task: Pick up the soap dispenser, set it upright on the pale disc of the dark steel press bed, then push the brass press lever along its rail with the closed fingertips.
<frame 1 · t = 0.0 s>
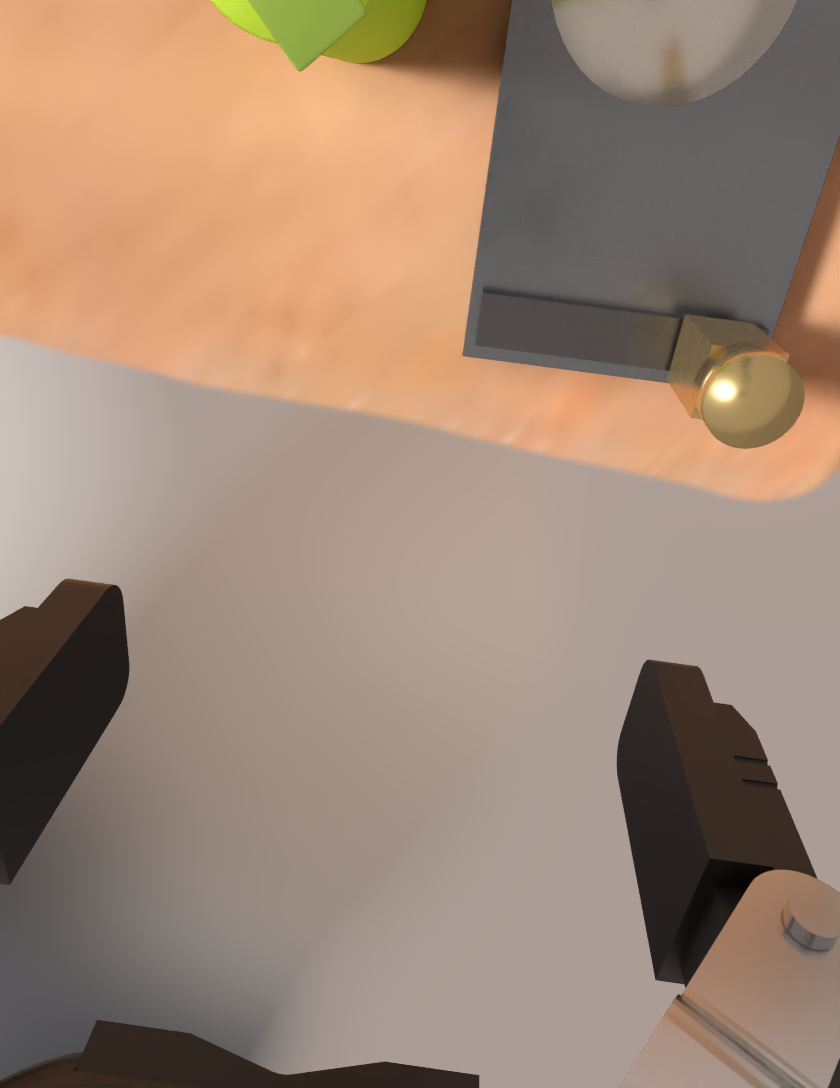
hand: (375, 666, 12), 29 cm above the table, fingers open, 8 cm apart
press bed: (655, 140, 34), on the table
press lever: (729, 375, 32), point 6 cm above the table, slide at 0.0 cm
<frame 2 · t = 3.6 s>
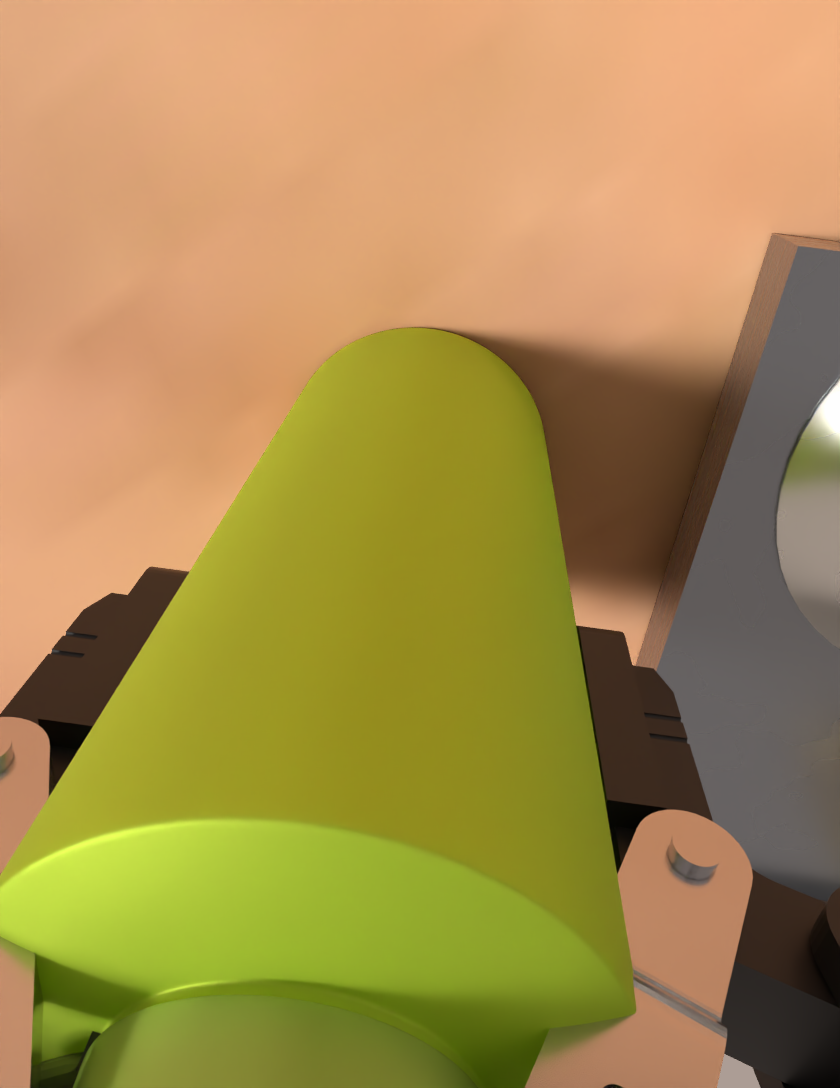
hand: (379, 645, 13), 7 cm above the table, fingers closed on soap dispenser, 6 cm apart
soap dispenser: (429, 468, 18), on the table, touching gripper
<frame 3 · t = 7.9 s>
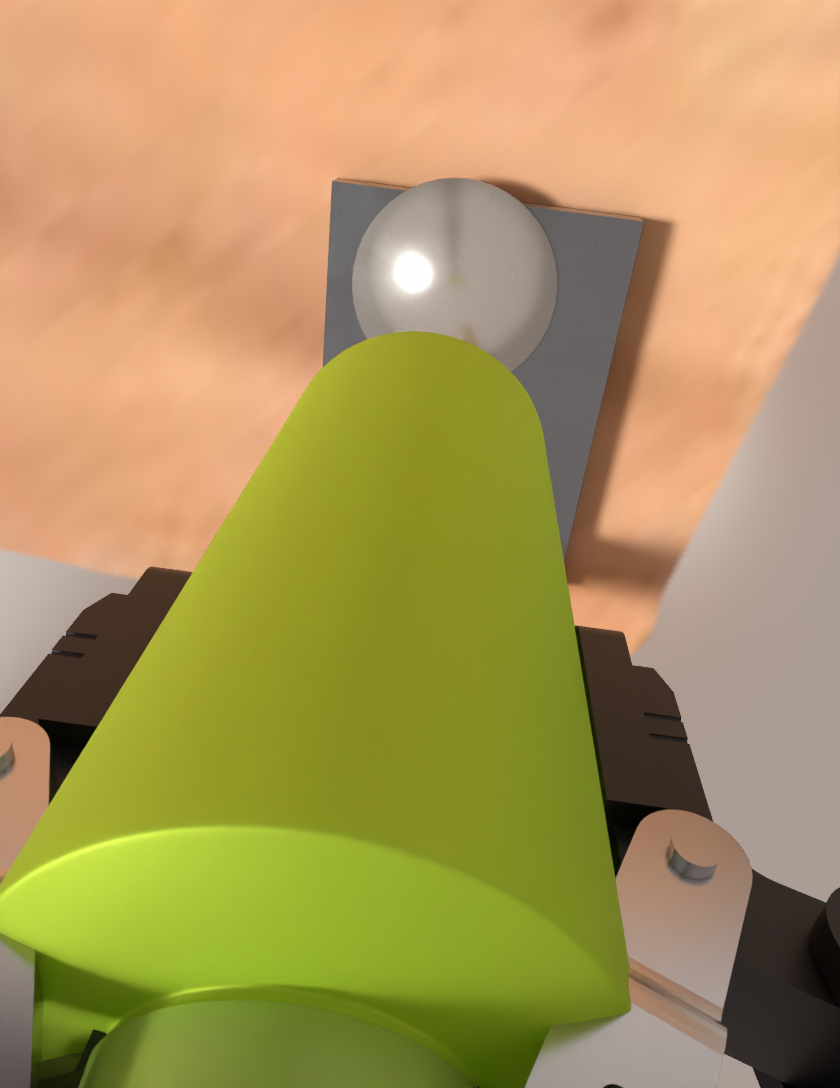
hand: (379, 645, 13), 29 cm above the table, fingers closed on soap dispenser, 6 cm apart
soap dispenser: (429, 471, 19), point 23 cm above the table, touching gripper
press bed: (458, 403, 41), on the table
when the fingers open (9 cm above the table, at t = 12.0 s): soap dispenser stays where it is, resting on press bed.
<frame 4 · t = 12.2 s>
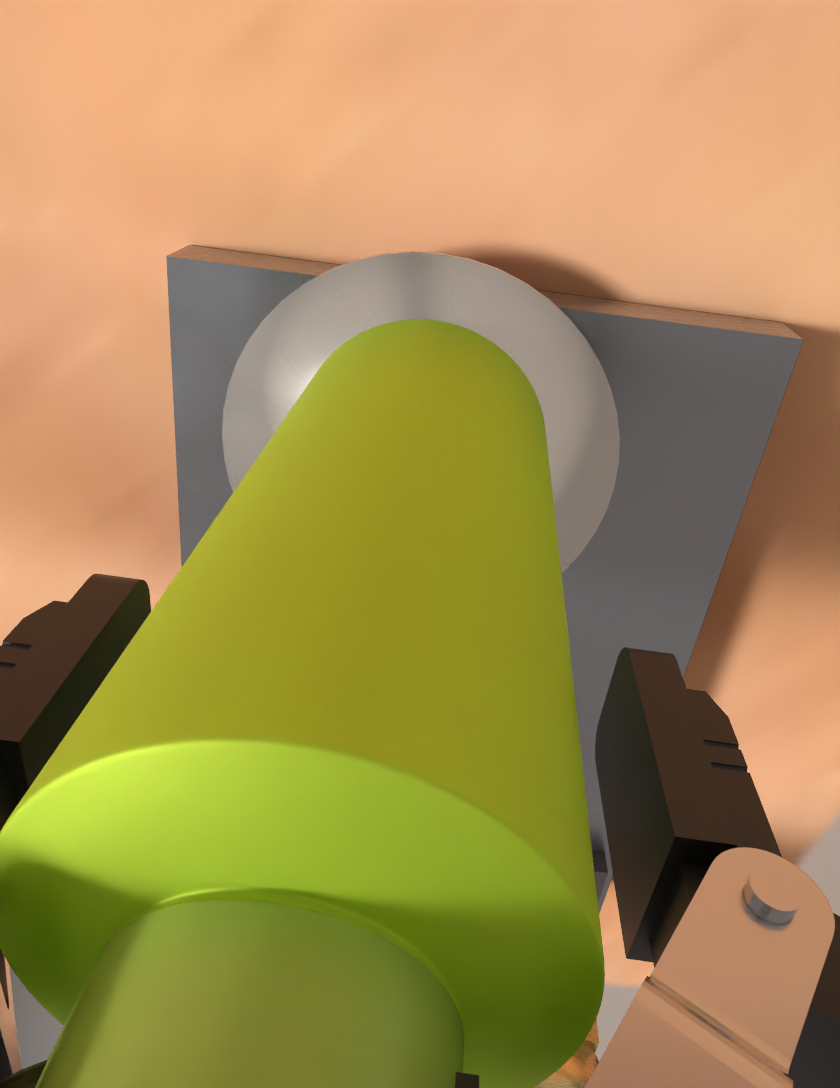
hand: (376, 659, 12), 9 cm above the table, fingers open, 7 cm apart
soap dispenser: (434, 456, 19), point 1 cm above the table, touching press bed
press bed: (433, 627, 23), on the table
press lever: (527, 1008, 22), point 6 cm above the table, slide at 0.0 cm
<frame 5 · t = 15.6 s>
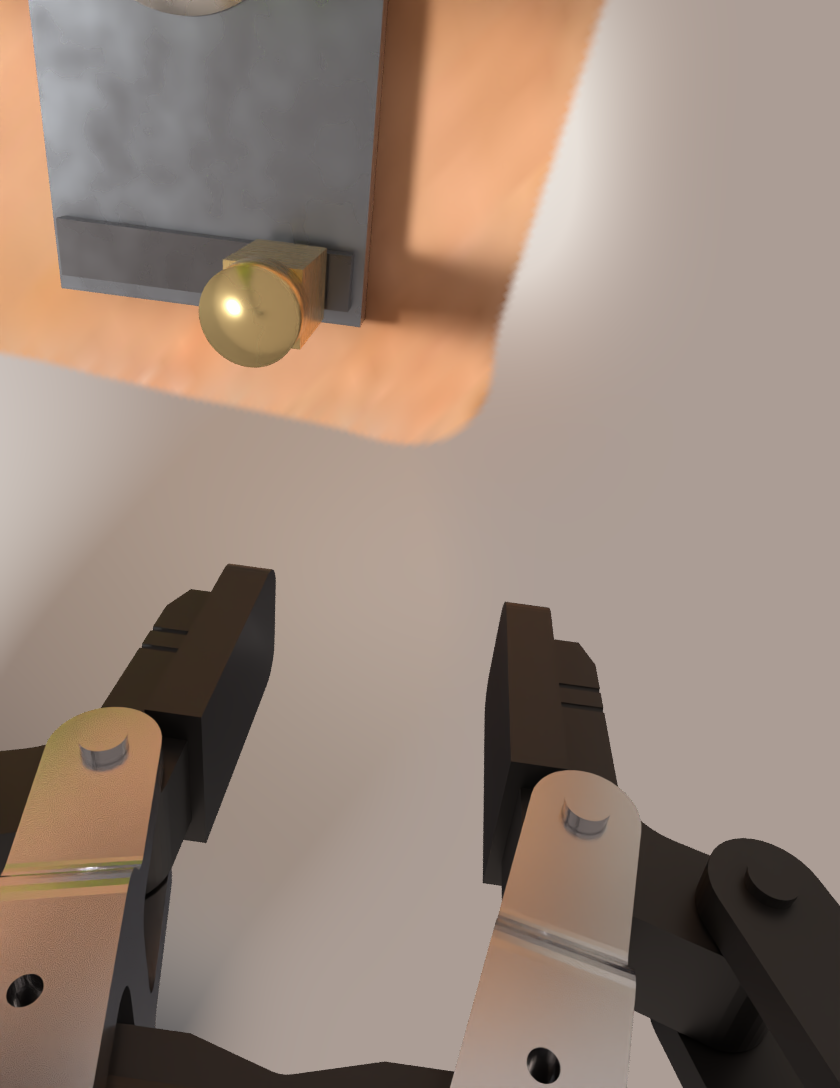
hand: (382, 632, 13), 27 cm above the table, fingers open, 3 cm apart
press bed: (216, 56, 33), on the table
press lever: (271, 296, 31), point 6 cm above the table, slide at 0.0 cm
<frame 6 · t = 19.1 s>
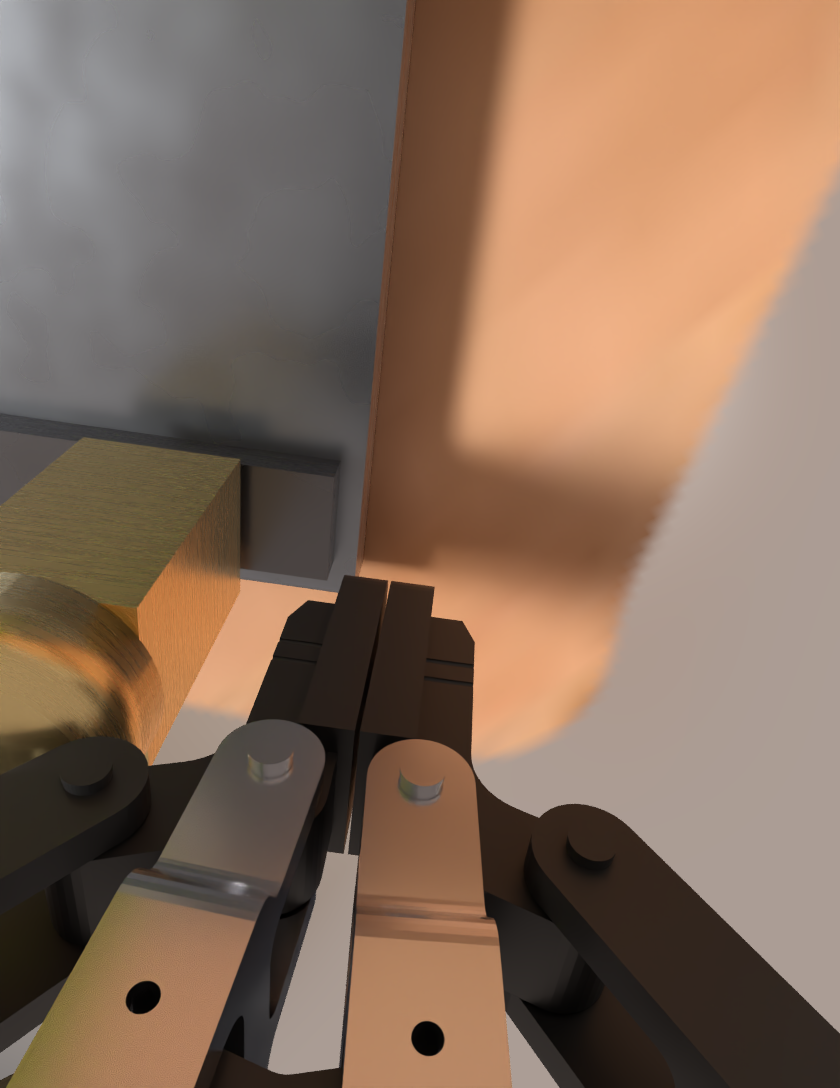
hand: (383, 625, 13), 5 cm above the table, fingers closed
press bed: (17, 27, 14), on the table
press lever: (86, 619, 12), point 6 cm above the table, slide at 0.7 cm, touching gripper
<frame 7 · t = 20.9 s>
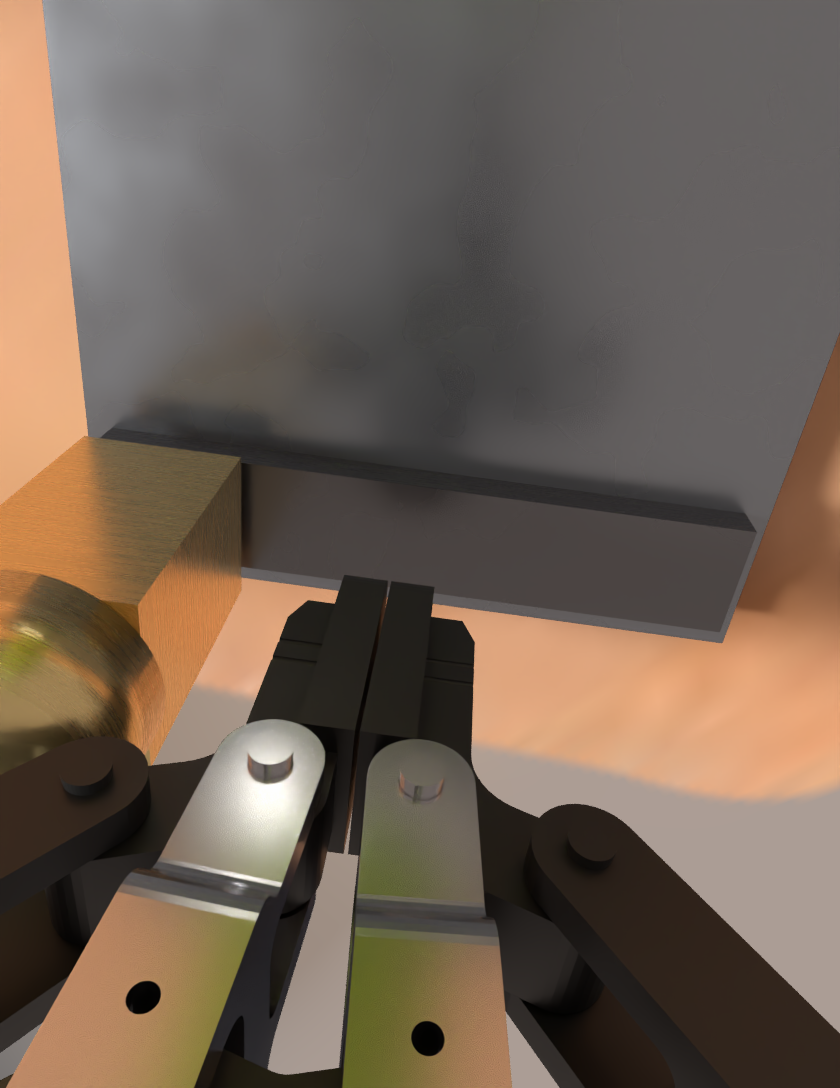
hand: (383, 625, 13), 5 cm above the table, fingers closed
press bed: (477, 86, 14), on the table
press lever: (87, 617, 13), point 6 cm above the table, slide at 9.0 cm, touching gripper
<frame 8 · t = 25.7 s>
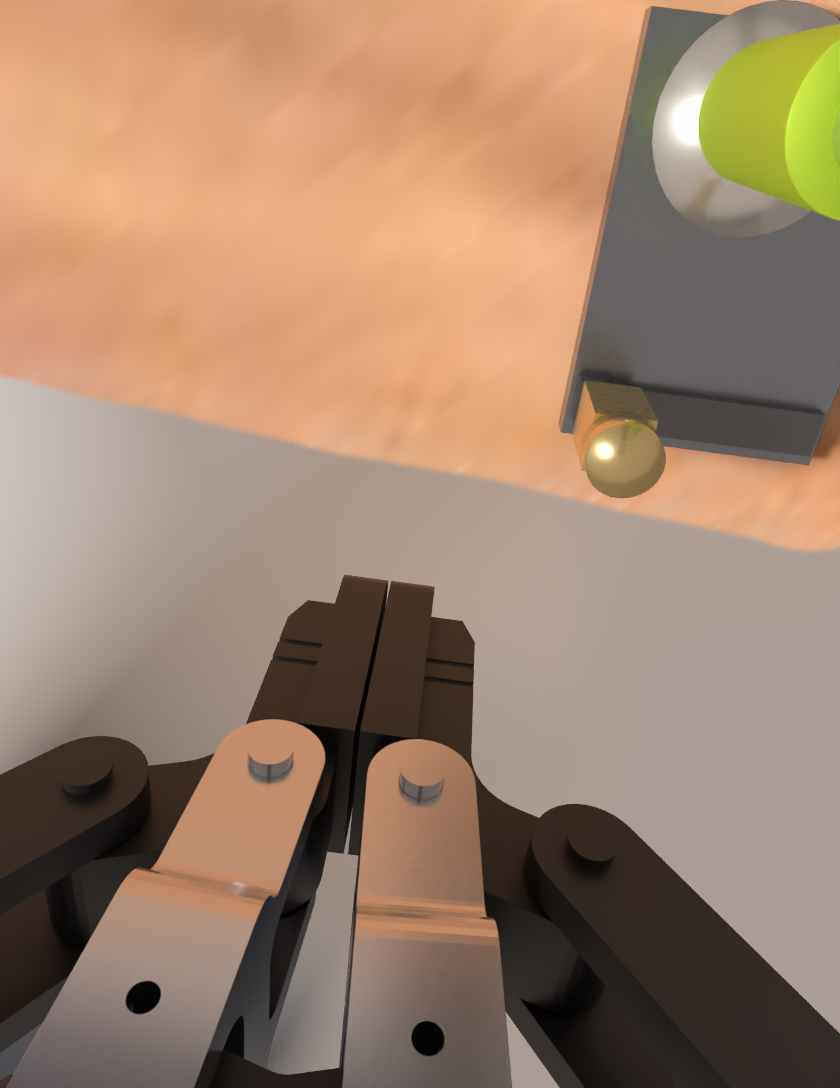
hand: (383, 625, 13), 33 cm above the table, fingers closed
soap dispenser: (768, 124, 36), point 1 cm above the table, touching press bed
press bed: (732, 258, 40), on the table
press lever: (615, 434, 39), point 6 cm above the table, slide at 9.0 cm
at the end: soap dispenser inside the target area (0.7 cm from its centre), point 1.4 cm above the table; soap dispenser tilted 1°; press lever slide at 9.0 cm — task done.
